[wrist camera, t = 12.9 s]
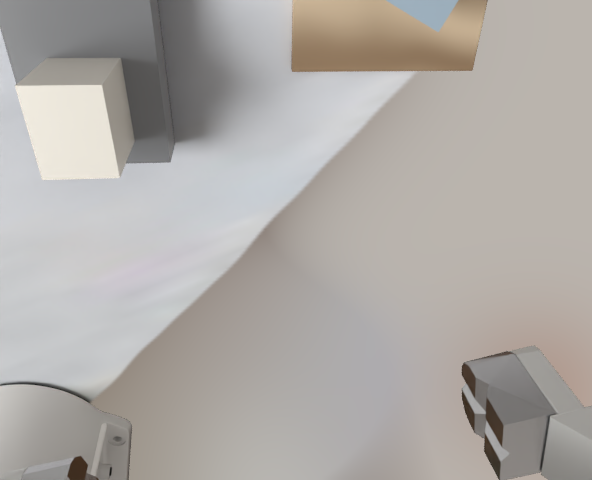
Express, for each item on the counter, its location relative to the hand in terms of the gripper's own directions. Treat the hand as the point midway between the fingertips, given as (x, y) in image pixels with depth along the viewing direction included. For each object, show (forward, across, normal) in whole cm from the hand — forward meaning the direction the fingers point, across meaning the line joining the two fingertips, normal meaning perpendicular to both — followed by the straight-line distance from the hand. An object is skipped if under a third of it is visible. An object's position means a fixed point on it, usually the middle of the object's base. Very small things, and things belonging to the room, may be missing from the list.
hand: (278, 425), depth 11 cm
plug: (+26, +8, -2) cm, 27 cm away
